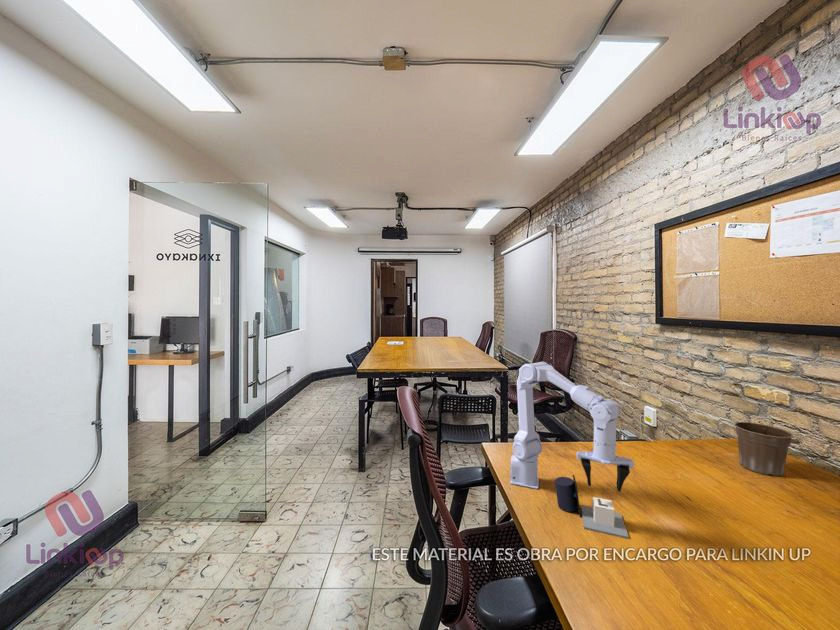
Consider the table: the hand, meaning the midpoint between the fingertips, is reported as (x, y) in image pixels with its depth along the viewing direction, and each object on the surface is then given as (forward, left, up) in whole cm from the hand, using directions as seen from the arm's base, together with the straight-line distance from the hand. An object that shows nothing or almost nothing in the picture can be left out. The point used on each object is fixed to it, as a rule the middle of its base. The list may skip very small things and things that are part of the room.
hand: (603, 487), depth 97 cm
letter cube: (0, 0, -10) cm, 10 cm away
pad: (0, 0, -10) cm, 10 cm away
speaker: (-9, +3, -11) cm, 15 cm away
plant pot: (+64, +61, -11) cm, 89 cm away
